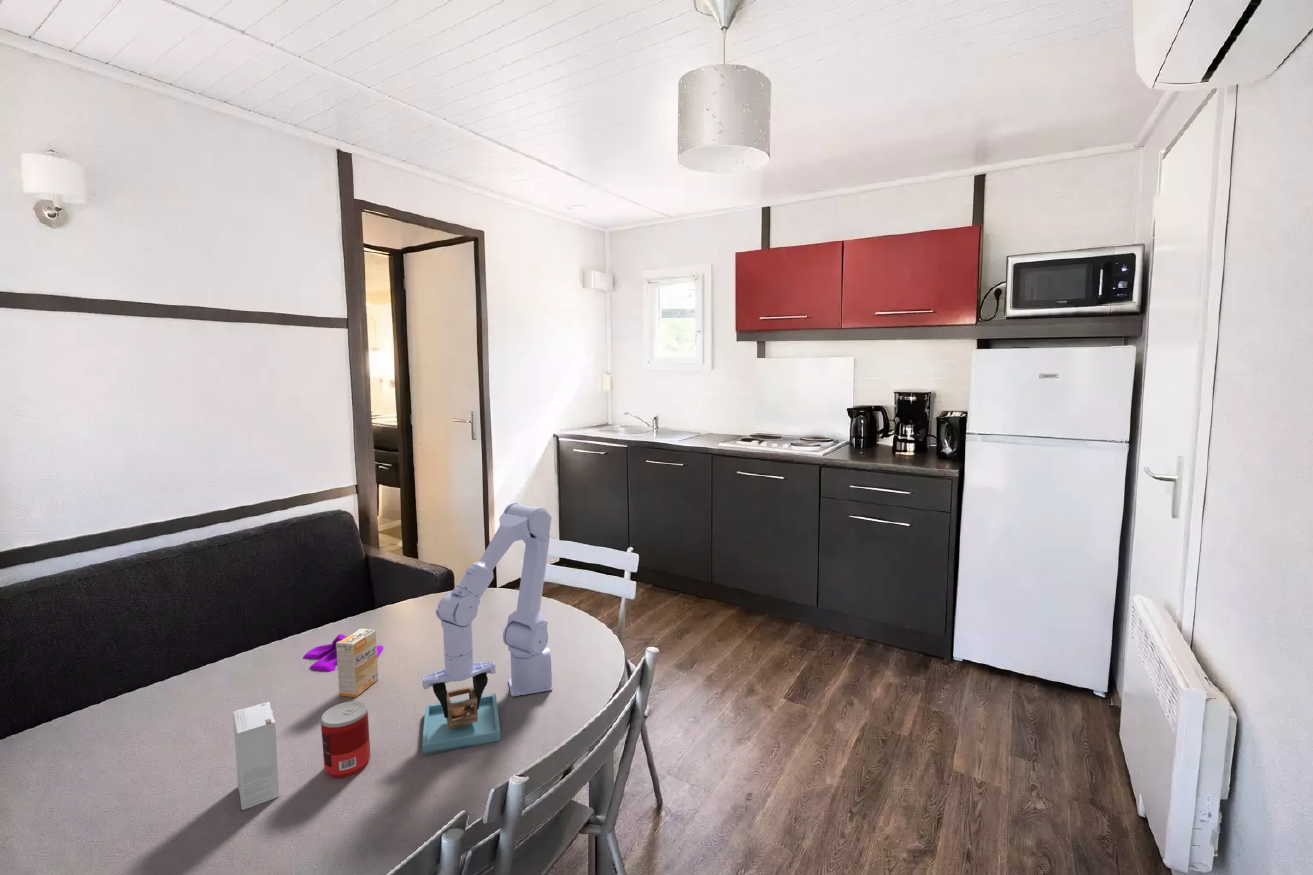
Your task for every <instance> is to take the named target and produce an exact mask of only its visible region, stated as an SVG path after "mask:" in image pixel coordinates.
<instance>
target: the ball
mask: <svg viewBox="0 0 1313 875" xmlns="http://www.w3.org/2000/svg"><path fill="white" fill-rule="evenodd" d="M455 703H456V702H455ZM464 710H465V707H462V708H458V709H454V710H452V716H453V717H460V716H461V715H462V714H463V713H464Z"/></svg>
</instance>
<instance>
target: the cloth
mask: <svg viewBox="0 0 1313 875" xmlns="http://www.w3.org/2000/svg"><path fill="white" fill-rule="evenodd" d="M345 637H347V635H345V634H342V633H339V634H338V635H337V636H336V637H335V638H334V640H333V641H332V642H331V643H330V644H329V643H328V644H324V645H323V644H322V645H318V646H316V647H313V648H312V649H310V650H308V651H307V652H306V653H305V654H304V655H303V656H302V659H303V660H307V659H309V660H317V661H315V662H314V663H313V664H311V665H310V666H309V669H310V670H314V671H319V672H325V673H328V672H330V673H331V672H335V671H336V667H338V664H337V648H336V643H337V642H339V641H340V640H342V639H344V638H345ZM384 649H385V648H384V646H383V645H377V659H378V658H379V656H380V655H381V653H382V652H383V650H384Z"/></svg>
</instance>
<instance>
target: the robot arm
mask: <svg viewBox="0 0 1313 875" xmlns="http://www.w3.org/2000/svg"><path fill="white" fill-rule="evenodd" d="M551 523H552V516H551V515H550V513H549V512H548V511H547V509H545V507H540V506H539V507H536V506H531V505H530V506H529V505H524V504H520V503H517V502H511V503H510V504H508V505H507V506H506V507H505V508H504V510H503V512H502V514H501V515H500V516H499V526H498V528H497V530H496V532H495V533H494V535H493V537H492V539H491V541H490V542H489V544H488V546H486V549H485V551H484V553H483V554H482V556H481V558H480V560H479V561H476V562H473V563H471V564H470V565H469V566H468V567H467V568H466V569H465V571H464V573H463V575H462V576H461V578H460V580H459V581H458V582H457V583H456V585H455V586H454V588H453V590H452V591H451V593H447V595H444V596H443V597H442V598H441V599H440V601H439V602H438V605H437V609H436V610H435V615H436V617H437V619H439V620H440V623H441V628H442V630H443V632H442V633H443V634H442V635H443V650H444V651H443V652H444V668H442V669H441V670H438V671H435V672H433V673H430V674H427V675H424V676H421V677H422V678H421V679H422V687H423V690H428V689H430V687H432V691H433V693H434V695H435V697H436V698H437V700H438V701H439V702H438V703H441V706H442V708H443V713H444V717H445V718H447V717H448V708H447V692H448V690H447V686H446V684H447V683H451V682H462V681H465V680H468V679H471V678H472V687H473V690H474V692H475V695H476V698H477V710H478V709H479V703H480V699H481V696H483V693H484V691H485V689H486V687H487V685H488V681H489V678H488V674H490V675H491V674H492V675H493V674H496V663H495V661H494V660H491V661H484V662H483V661H481V662H479V661H478V662H474V645H473V644H474V643H473V621H474V620H475V619H476V617H477V615H478V611H479V605H480V604H481V603H480V602H481V600H480V599H481V598H482V596H483V595H484V593H485V592H486V591H487V589H488V587H489V586H490V585H491V582H493V579H494V578H495V576H494V569H495V567H496V566H497V565H498V563H499V562H500V561H501V560H502V558H503V557H504V555H505V554H506V553H507V552H508V551H509V549H510V547H511V546H512V545H513V544H514V543H515V542H517V541H518V542H519V541H522V542H524V544H525V547H524V554H523V560H522V567H521V568H522V569H521V577H520V581H519V582H520V584H519V591H518V597H517V604H516V610H514V611H513V612H511V613H510V614H509V615H508V617H507V622H506V625H505V627H504V629H503V633H502V641H503V643H504V645H506V646H507V647H508V652H510V677H511V678H509V679H508V685H509V690H510V691H509V692H510V696H511V697H512V698H514V696H515V697H520V695H521V696H526V695H531V694H537V693H544V692H548V691H549V692H550V691H552V690H553V681H552V680H553V679H552V676H553V675H552V674H553V672H552V656H551V650H550V647H549V646H548V642H549V632H548V620H547V619H546V617H544V615H543V613H542V612H541V605H542V597H543V589H544V582H545V576H546V575H545V574H546V569H547V561H548V553H549V545H550V538H551V536H550V531H551Z"/></svg>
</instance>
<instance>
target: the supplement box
mask: <svg viewBox="0 0 1313 875" xmlns="http://www.w3.org/2000/svg"><path fill="white" fill-rule="evenodd" d="M377 646H378V645H377V630H376V629H370V628H369V629H368V628H359V629H357V630H355V631H353V632H352V633H350V634H349V635H346V637H345V638H344V639H342V640H340V641H339V642H337V643H336V648H337V664H338V665H337V678H338V691H339V692H338V694H339V696H341V697H348V698H349V697H350V698H357V697H358V696H359V695H361V694H362V693H363V692H364V691H365V690H367V689H368V688H370V687H371V686H372V685H373V684H375V683H376V682H378V681H379V667H378V658H377Z"/></svg>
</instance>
